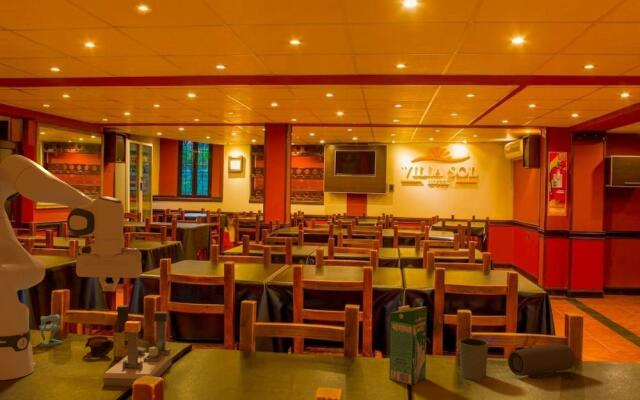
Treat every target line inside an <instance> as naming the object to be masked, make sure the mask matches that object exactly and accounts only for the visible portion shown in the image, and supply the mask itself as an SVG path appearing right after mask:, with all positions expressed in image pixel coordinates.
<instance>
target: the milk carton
mask: <svg viewBox="0 0 640 400" xmlns="http://www.w3.org/2000/svg"><path fill="white" fill-rule="evenodd" d="M427 308H428V306H417V307H410V305H403V306H399V307H397V309H398V310H396V311H393V312H390V314H389V315H390V316H389V317H390V320H389V321H390V322H389V323H390V324H389V326H390V327H389V378H388V379H389V380H390V381H395V382H397V383H398V382H399V383H402V384H406V385H408V386H409V385H410V386H414V385H416V384H417V383H419V382H421V381H423V380H425V379H426V377H427V376H426V375H427V374H426V373H427V372H426V369H427V368H426V366H427V365H426V364H427V320H428V319H427V315H428V309H427Z"/></svg>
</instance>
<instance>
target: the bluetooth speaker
mask: <svg viewBox="0 0 640 400" xmlns="http://www.w3.org/2000/svg"><path fill="white" fill-rule="evenodd" d="M507 364H508V368H509V370H510V371H511V373H512V374H513V375H516V376H518V377H526V376H527V377H529V378H534V379H537V378H543V377H551V376H555V373H559V372H562V371H567V370H570V369H572V368H574V367H575V365H576V355H575V353H574V350H573V349H572V348H571V347H570V346H569V345H566V344H554V345H553V344H552V345H550V344H549V345H542V346H534V347H532V346H531V347H527V348H520V349H516V350H513V351H511V352H510V353H509V355H508V359H507Z"/></svg>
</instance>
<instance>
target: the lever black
mask: <svg viewBox="0 0 640 400" xmlns="http://www.w3.org/2000/svg"><path fill="white" fill-rule="evenodd" d="M169 313H170V312H169V311H157V310H156V311H155V312H154V313H153V322H156V344H155V345H156V346H155V347H158V354H163V355H167V322H169V318H170V317H169Z"/></svg>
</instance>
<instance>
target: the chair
mask: <svg viewBox="0 0 640 400" xmlns="http://www.w3.org/2000/svg"><path fill="white" fill-rule="evenodd" d="M39 319H40V325H39V327H38V328H39V331H40V335H41V338H42V342H41V348H45V347H51V346H52V347H53V346H58V345H59V346H60V345H62V344H63V341H62V340H58V339H55V338H54V336H55V334H56V331H57V330H59V329H61V325H59V321H60V319H61V316H60V314H57V313H55V314H50V315H47V316H45V315H42V316H40V318H39ZM50 321H53V323H51V324H46V323H47V322H50ZM50 330H53V331H52V332H51V335H50V337H49V342H51V341H53V342H51V343H49V342H48V343H46V337H45V334H44V332H46V331H50Z"/></svg>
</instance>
